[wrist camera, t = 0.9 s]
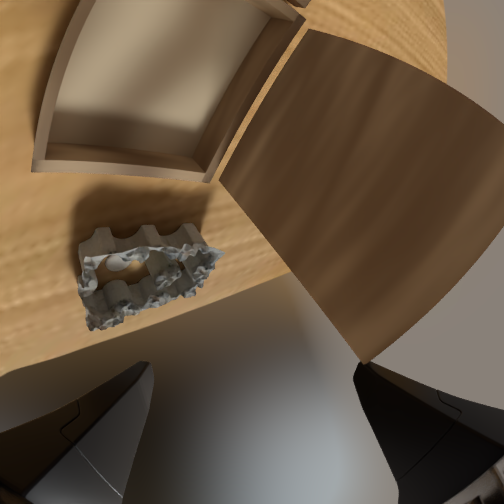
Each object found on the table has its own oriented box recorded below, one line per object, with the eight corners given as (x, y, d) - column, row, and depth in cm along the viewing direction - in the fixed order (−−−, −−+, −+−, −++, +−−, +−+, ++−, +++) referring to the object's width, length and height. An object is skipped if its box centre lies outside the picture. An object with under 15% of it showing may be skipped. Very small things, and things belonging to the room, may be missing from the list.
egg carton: (71, 291, 18) (83, 335, 16) (79, 216, 15) (90, 264, 13) (178, 280, 26) (198, 314, 24) (209, 219, 22) (235, 254, 20)
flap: (218, 180, 15) (364, 365, 9) (308, 28, 10) (543, 160, 4) (234, 182, 16) (374, 355, 10) (321, 39, 11) (536, 169, 5)
